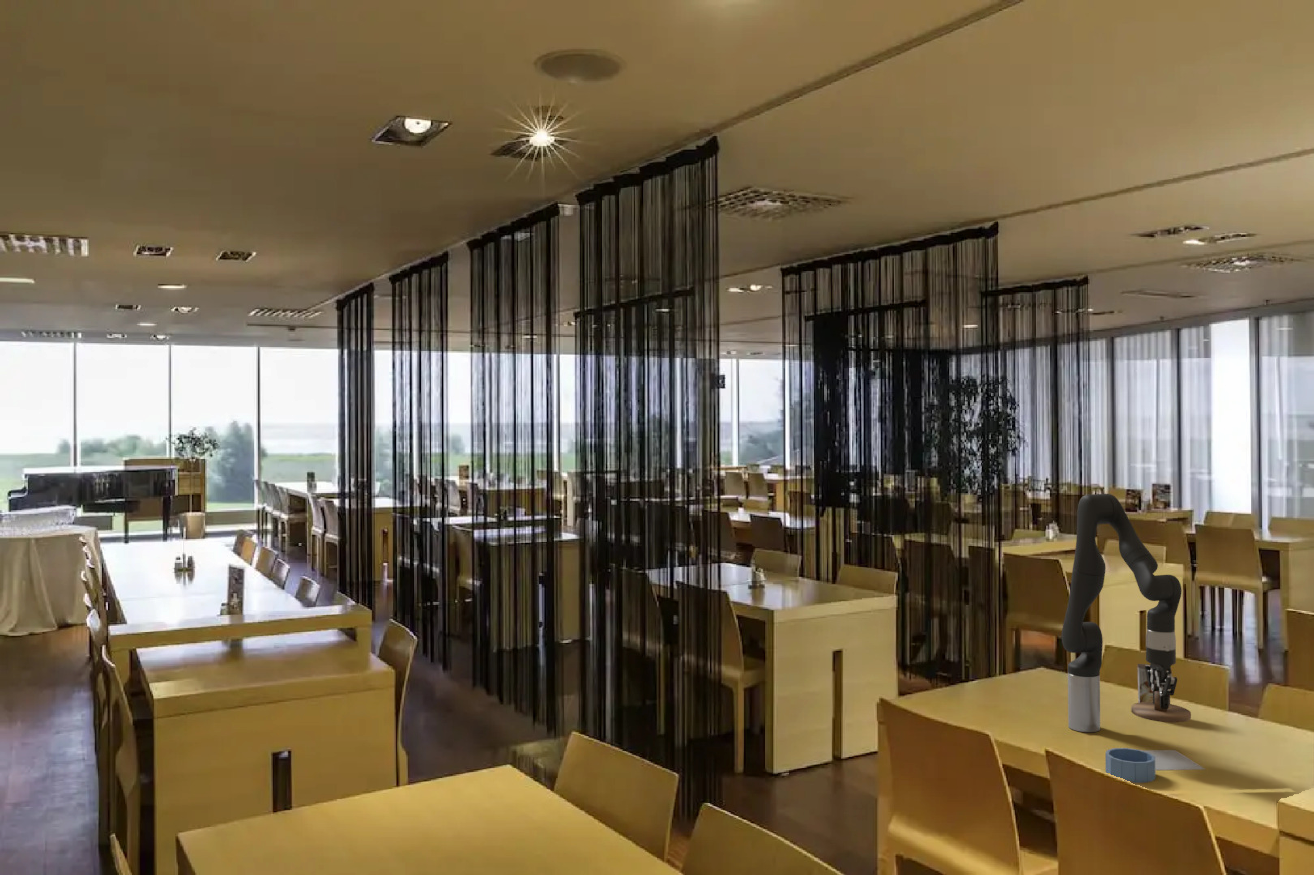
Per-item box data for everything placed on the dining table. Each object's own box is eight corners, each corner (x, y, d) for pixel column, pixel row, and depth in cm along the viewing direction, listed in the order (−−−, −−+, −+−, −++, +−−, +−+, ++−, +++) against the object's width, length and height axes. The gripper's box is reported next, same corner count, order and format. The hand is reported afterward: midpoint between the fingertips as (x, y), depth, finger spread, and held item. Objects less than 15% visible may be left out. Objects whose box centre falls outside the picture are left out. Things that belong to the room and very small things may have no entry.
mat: (1119, 753, 288) (1119, 750, 288) (1175, 752, 288) (1175, 749, 288) (1147, 773, 272) (1147, 770, 272) (1205, 772, 272) (1205, 769, 272)
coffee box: (1168, 714, 326) (1168, 665, 325) (1170, 719, 320) (1170, 669, 319) (1137, 711, 329) (1137, 663, 329) (1139, 717, 323) (1138, 667, 323)
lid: (1121, 706, 288) (1121, 685, 288) (1173, 705, 288) (1173, 684, 288) (1147, 722, 273) (1147, 700, 273) (1202, 722, 273) (1202, 699, 273)
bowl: (1098, 770, 275) (1098, 748, 275) (1141, 769, 275) (1141, 747, 275) (1118, 785, 263) (1118, 763, 263) (1164, 785, 263) (1163, 762, 263)
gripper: (1135, 640, 287) (1135, 699, 287) (1160, 652, 273) (1160, 714, 273) (1161, 639, 287) (1161, 699, 287) (1187, 651, 273) (1187, 714, 273)
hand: (1160, 706), depth 280 cm, fingers closed on lid, 3 cm apart
